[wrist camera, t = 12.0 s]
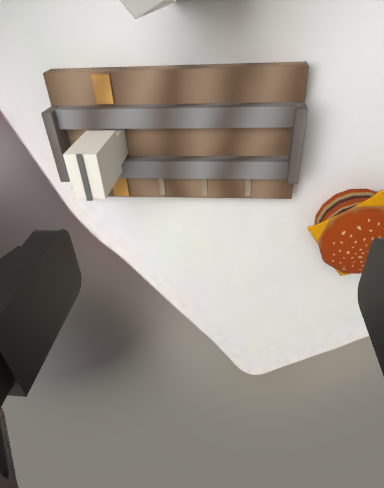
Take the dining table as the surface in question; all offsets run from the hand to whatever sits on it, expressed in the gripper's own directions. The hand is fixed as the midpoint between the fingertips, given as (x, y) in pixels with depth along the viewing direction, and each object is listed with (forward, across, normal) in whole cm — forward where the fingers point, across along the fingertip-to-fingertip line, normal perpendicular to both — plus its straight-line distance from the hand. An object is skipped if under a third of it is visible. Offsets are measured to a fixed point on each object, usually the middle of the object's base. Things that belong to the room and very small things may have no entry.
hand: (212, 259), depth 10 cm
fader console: (+32, +6, +8) cm, 34 cm away
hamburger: (+32, -15, +19) cm, 40 cm away
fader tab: (+30, +13, +8) cm, 34 cm away
